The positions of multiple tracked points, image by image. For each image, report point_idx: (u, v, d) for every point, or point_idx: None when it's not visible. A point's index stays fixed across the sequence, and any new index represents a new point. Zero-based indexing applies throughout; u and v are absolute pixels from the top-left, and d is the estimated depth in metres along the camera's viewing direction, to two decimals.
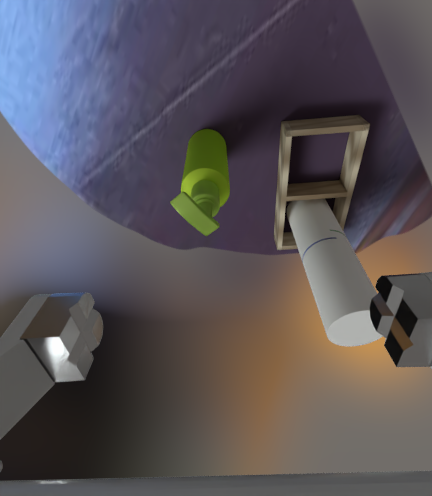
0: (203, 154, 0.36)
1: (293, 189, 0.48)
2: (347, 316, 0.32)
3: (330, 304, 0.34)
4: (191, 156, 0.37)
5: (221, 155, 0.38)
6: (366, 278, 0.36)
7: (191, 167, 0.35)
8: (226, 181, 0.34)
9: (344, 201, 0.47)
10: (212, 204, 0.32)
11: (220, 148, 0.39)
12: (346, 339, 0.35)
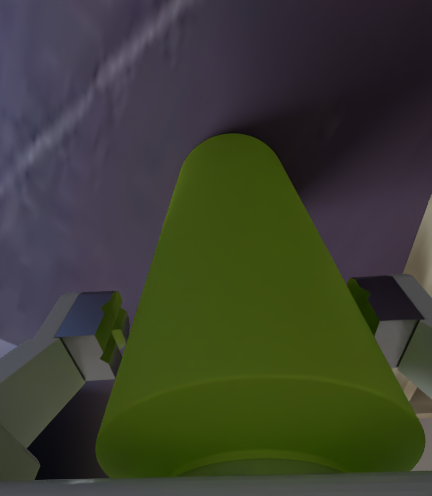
0: (238, 229, 0.07)
1: None
2: None
3: None
4: (178, 231, 0.08)
5: (310, 224, 0.09)
6: None
7: (164, 331, 0.05)
8: (418, 438, 0.05)
9: None
10: None
11: (293, 194, 0.10)
12: None
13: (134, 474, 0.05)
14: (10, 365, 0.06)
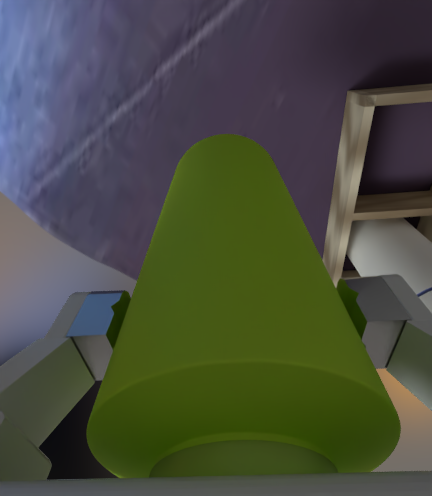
0: (226, 225, 0.07)
1: (360, 203, 0.30)
2: None
3: None
4: (169, 228, 0.08)
5: (298, 221, 0.09)
6: None
7: (151, 322, 0.05)
8: (393, 422, 0.05)
9: None
10: None
11: (283, 192, 0.10)
12: None
13: (123, 459, 0.05)
14: (22, 364, 0.06)
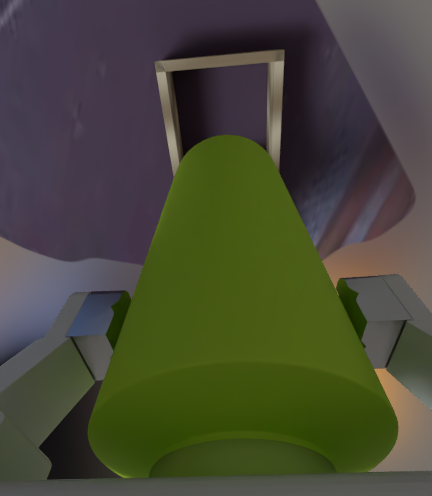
0: (226, 226, 0.07)
1: None
2: None
3: None
4: (170, 229, 0.08)
5: (298, 222, 0.09)
6: None
7: (151, 321, 0.05)
8: (390, 422, 0.05)
9: None
10: None
11: (283, 193, 0.10)
12: None
13: (124, 457, 0.05)
14: (22, 364, 0.06)
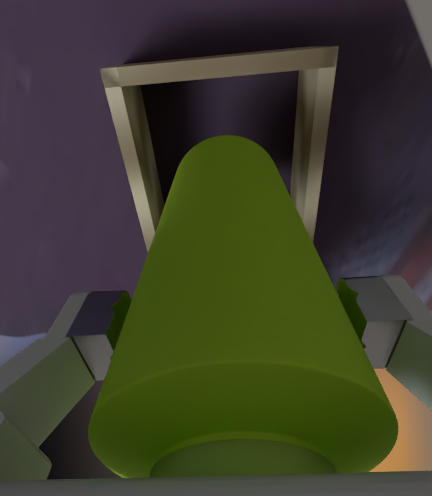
0: (226, 227, 0.07)
1: None
2: None
3: None
4: (170, 229, 0.08)
5: (298, 222, 0.09)
6: None
7: (152, 322, 0.05)
8: (390, 422, 0.05)
9: None
10: None
11: (283, 194, 0.10)
12: None
13: (124, 458, 0.05)
14: (22, 364, 0.06)
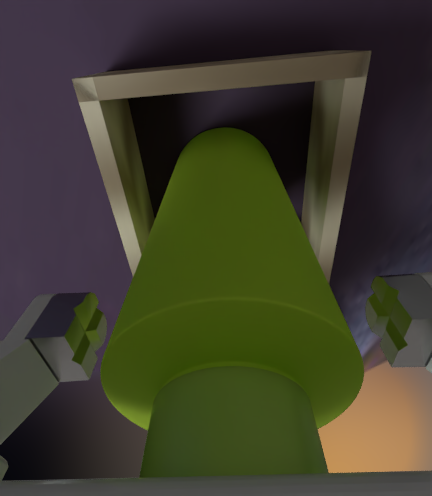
0: (219, 203, 0.08)
1: None
2: None
3: None
4: (169, 208, 0.09)
5: (286, 202, 0.10)
6: None
7: (154, 277, 0.06)
8: (355, 358, 0.06)
9: None
10: None
11: (274, 178, 0.11)
12: None
13: (131, 393, 0.06)
14: None
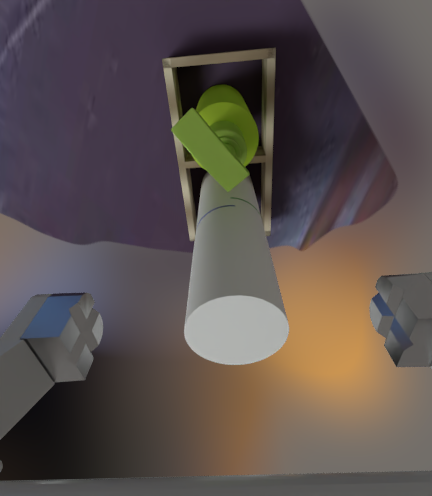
0: (219, 95, 0.26)
1: None
2: (205, 307, 0.19)
3: (192, 292, 0.21)
4: (202, 102, 0.27)
5: (243, 102, 0.28)
6: (259, 253, 0.23)
7: (203, 106, 0.24)
8: (254, 124, 0.24)
9: (265, 170, 0.35)
10: (236, 147, 0.21)
11: (241, 98, 0.29)
12: (223, 352, 0.21)
13: None
14: None
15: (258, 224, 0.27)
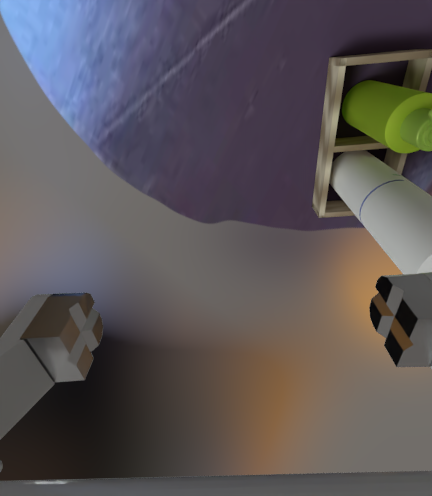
0: (403, 88, 0.32)
1: (340, 141, 0.42)
2: None
3: (417, 240, 0.27)
4: (383, 94, 0.33)
5: None
6: None
7: (401, 97, 0.30)
8: None
9: (400, 153, 0.41)
10: None
11: None
12: None
13: (395, 122, 0.30)
14: None
15: None
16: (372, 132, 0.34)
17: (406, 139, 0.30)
